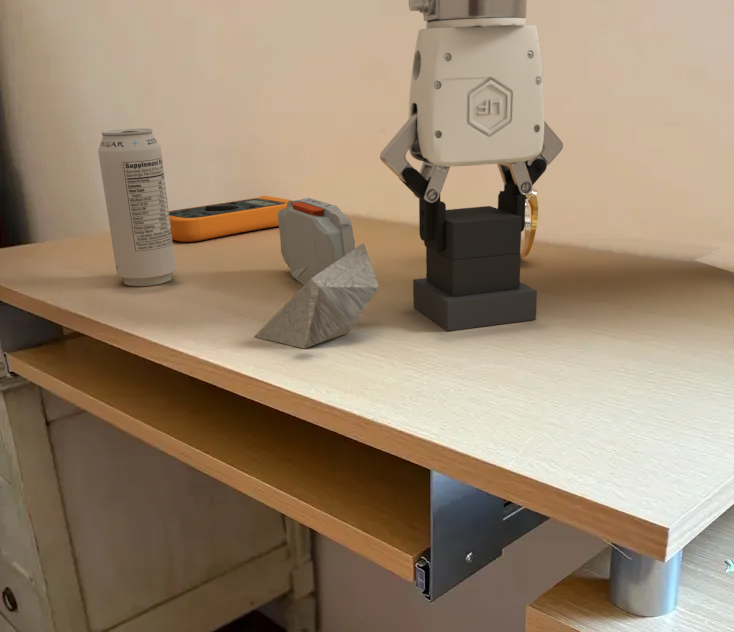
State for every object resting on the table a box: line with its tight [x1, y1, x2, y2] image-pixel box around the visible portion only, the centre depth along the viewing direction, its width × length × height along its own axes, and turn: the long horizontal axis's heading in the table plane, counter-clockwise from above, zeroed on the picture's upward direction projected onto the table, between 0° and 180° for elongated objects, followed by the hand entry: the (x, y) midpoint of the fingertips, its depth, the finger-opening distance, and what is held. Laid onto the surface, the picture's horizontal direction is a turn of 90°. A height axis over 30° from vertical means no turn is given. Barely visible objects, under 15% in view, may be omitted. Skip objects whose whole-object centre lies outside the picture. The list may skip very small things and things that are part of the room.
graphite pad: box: [438, 205, 522, 260], centre depth 69 cm, size 6×6×3 cm
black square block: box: [425, 246, 521, 297], centre depth 70 cm, size 6×6×3 cm
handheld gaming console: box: [277, 197, 356, 284], centre depth 82 cm, size 14×3×8 cm, turn 27°
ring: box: [520, 188, 539, 260], centre depth 89 cm, size 7×3×8 cm, turn 5°
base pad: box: [412, 277, 538, 332], centre depth 71 cm, size 8×8×2 cm
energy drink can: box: [97, 128, 177, 287], centre depth 84 cm, size 6×6×15 cm
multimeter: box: [169, 195, 293, 243], centre depth 111 cm, size 9×18×3 cm, turn 130°
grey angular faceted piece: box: [253, 242, 380, 349], centre depth 67 cm, size 12×6×9 cm
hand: (472, 243), depth 69 cm, fingers closed on graphite pad, 6 cm apart
